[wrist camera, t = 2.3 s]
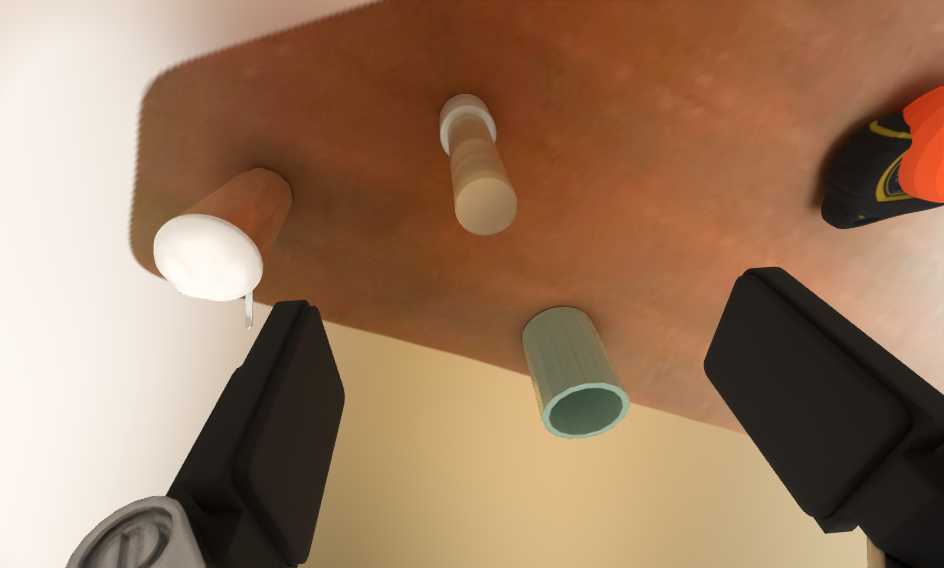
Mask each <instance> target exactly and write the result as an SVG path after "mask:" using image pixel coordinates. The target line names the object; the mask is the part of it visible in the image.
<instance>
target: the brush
mask: <svg viewBox="0 0 944 568" xmlns="http://www.w3.org/2000/svg"><path fill="white" fill-rule="evenodd" d="M439 127H440V140H441V144H442V146H443V148H444V150H445V152H446V153H447V154H448V155H449V156H450V165H451V175H452V184H453V194H454V203H455V212H456V216H457V219H458V221H459V222H460V224H461V225H462V226H463V227H464V228H465V229H466V230H468V231H469V232H472V233H474V234H477V235H492V234H496V233H498V232H500V231H502V230H504V229H505V228H506V227H507V226H508V225H509V224H510V223H511V222H512V220H513V219H514V217H515V215H516V212H517V198H516V195H515V192H514V190H513V188H512V185H511V183H510V180H509V178H508V175H507V173H506V170H505V168H504V166H503V163H502V161H501V158H500V156H499V153H498V151H497V149H496V146H495V140H496V127H495V123H494V121H493V119H492V117H491V114H490V112H489V110H488V108H487V106H486V105H485V103H484V102H483V101H482V100H481V99H479V98H478V97H476V96H474V95H471V94H459V95H456V96H454V97H452V98H450V99H449V100H448V101H447V102H446V103H445V104H444V106H443V108H442V110H441V112H440V117H439Z"/></svg>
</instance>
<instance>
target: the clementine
mask: <svg viewBox="0 0 944 568" xmlns="http://www.w3.org/2000/svg"><path fill="white" fill-rule="evenodd" d="M903 111H904V113H903V116H904V120H905V122H906V124H908V125H909V126H910V127H911V129H910V132H911V134H912V141H913V142H912V145H911V147H910V149H909V150H908V151H907V152H906V154H905V155H904V156H903V158H902V161H901V165H900V168H899V181H898V182H899V184H900V186H901V188H902V190H903V191H904V192H905V193H907V194H908V195H910V196H912V197H916V198H919V199H923V200H927V201H932V202H938V203H944V85H942V86H940V87H938V88H936V89H934V90H932V91H930V92H928V93H927V94H925V95H923V96H921V97H919V98H917V99H916V100H915V101H913V102H912V103H911V104H909V105H908V106H907V107H905V108H904V109H903V110H902V111H901V112H903Z"/></svg>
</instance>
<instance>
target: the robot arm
mask: <svg viewBox="0 0 944 568" xmlns="http://www.w3.org/2000/svg"><path fill="white" fill-rule="evenodd" d="M704 370H705V373H706V375H707V377H708V378H709V380H710V381H711V383H712V384H713V385H714V387H715V388H716V390H717V391H718V392H719V394H720V395H721V397H722V398H723V400H724V401H725V402H726V404H727V405H728V407H729V408H730V409H731V411H732V412H733V414H734V415H735V416H736V418H737V419H738V421H739V422H740V423H741V425H742V426H743V428H744V429H745V430H746V432H747V433H748V435H749V436H750V437H751V439H752V440H753V442H754V443H755V444H756V446H757V447H758V448H759V450H760V451H761V453H762V454H763V456H764V457H765V459H766V460H767V461H768V462H769V464H770V465H771V467H772V468H773V470H774V471H775V473H776V474H777V475H778V477H779V478H780V480H781V481H782V482H783V484H784V485H785V486H786V488H787V489H788V491H789V492H790V493H791V495H792V496H793V498H794V499H795V501H796V502H797V504H798V505H799V506H800V507H801V509H802V510H803V511H804V512H805V513H806V514H808V515H809V516H812V517H814V519H815V520H816V522H817V523H818V524H819V526H820V527H821V529H822V530H823V531H824V533H825V534H826V533H837V532H848V531H853V530H854V529H855V528H856V527H857V526H858V525H859V527H860V528H861V529H862V530H863V531H864V533H865V534H866V535H867V560H868V568H944V395H943V394H942V393H940V392H939V391H938V390H937V389H935V388H934V387H933V386H931V385H930V384H929V383H928V382H926V381H925V380H924V379H923V378H921V377H920V376H919V375H917V374H916V373H915V372H914V371H912V370H911V369H910V368H908V367H907V366H906V365H905V364H903V363H902V362H901V361H900V360H898V359H897V358H896V357H894V356H893V355H892V354H891V353H889V352H888V351H887V350H886V349H884V348H883V347H882V346H880V345H879V344H878V343H877V342H875V341H874V340H873V339H872V338H870V337H869V336H868V335H866V334H865V333H864V332H863V331H861V330H860V329H859V328H857V327H856V326H855V325H854V324H852V323H851V322H850V321H849V320H847V319H846V318H845V317H843V316H842V315H841V314H840V313H838V312H837V311H836V310H835V309H833V308H832V307H831V306H829V305H828V304H827V303H826V302H824V301H823V300H822V299H820V298H819V297H818V296H817V295H815V294H814V293H813V292H812V291H810V290H809V289H808V288H806V287H805V286H804V285H803V284H801V283H800V282H799V281H798V280H796V279H795V278H794V277H792V276H791V275H790V274H789V273H787V272H786V271H785V270H783V269H782V268H780V267H763V268H751V269H748V270H746V271H745V272H744V273H743V275H742V276H740V277H738V278H737V280H736V282H735V284H734V287H733V289H732V292H731V294H730V297H729V299H728V302H727V304H726V307H725V309H724V312H723V314H722V317H721V319H720V322H719V325H718V327H717V330H716V332H715V335H714V337H713V340H712V342H711V345H710V347H709V350H708V352H707V355H706V357H705V360H704ZM344 401H345V394H344V388H343V385H342V381H341V379H340V375H339V372H338V370H337V366H336V363H335V360H334V357H333V354H332V351H331V347H330V345H329V341H328V339H327V335H326V332H325V329H324V326H323V323H322V319H321V316H320V313H319V310H318V308H317V307H316V306H310V305H309V303H308V302H307V301H306V300H295V301H281V302H277V303H276V304H275V305H274V307H273V309H272V311H271V313H270V314H269V316H268V318H267V320H266V322H265V324H264V326H263V328H262V329H261V331H260V333H259V335H258V337H257V339H256V340H255V342H254V344H253V346H252V348H251V350H250V352H249V353H248V355H247V357H246V359H245V361H244V363H243V365H242V366H240V367H239V368H237V369H236V371H235V372H234V373H233V374H232V376H231V378H230V380H229V382H228V383H227V385H226V387H225V389H224V391H223V392H222V394H221V396H220V398H219V400H218V401H217V403H216V405H215V407H214V409H213V411H212V413H211V414H210V416H209V418H208V420H207V421H206V423H205V425H204V427H203V429H202V431H201V432H200V434H199V436H198V438H197V440H196V442H195V443H194V445H193V447H192V449H191V451H190V453H189V454H188V456H187V458H186V460H185V461H184V463H183V465H182V467H181V469H180V471H179V472H178V474H177V476H176V478H175V480H174V482H173V483H172V485H171V487H170V489H169V491H168V492H167V494H166V496H152V497H148V498H144V499H141V500H137V501H134V502H132V503H130V504H128V505H127V506H124V507H122V508H120V509H119V510H117V511H115V512H114V513H113V514H111V515H110V516H108V517H107V518H106V519H104V520H103V521H102V522H100V523H99V524H98V525H97V526H96V527H95V528H94V529H93V530H92V531H91V532H90V533H89V534H88V535H87V536H86V537H85V538H84V539H83V540H82V541H81V543H80V544H79V546H78V547H77V548H76V550H75V551H74V552H73V554H72V555H71V557H70V559H69V561H68V564H67V566H66V568H297V567H298V564H303V563H305V562H306V560H307V558H308V556H309V552H310V548H311V544H312V540H313V535H314V531H315V527H316V522H317V518H318V514H319V510H320V505H321V501H322V497H323V493H324V488H325V484H326V480H327V476H328V471H329V467H330V463H331V458H332V454H333V450H334V445H335V441H336V437H337V433H338V428H339V424H340V420H341V416H342V411H343V407H344Z"/></svg>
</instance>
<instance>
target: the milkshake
mask: <svg viewBox="0 0 944 568" xmlns="http://www.w3.org/2000/svg"><path fill="white" fill-rule="evenodd" d="M292 203H293V197H292V192H291V187H290V185H289V184H288V183H287V182H286V181H285V180H284V179H283V178H282V177H281V176H280V175H279V174H278V173H277V172H275V171H271V170H268V169H265V168H262V167H258V168H254V169H251V170H248V171H244V172H242V173H241V174H239V175H238V176H236V177H235V178H234V179H232V180H231V181H229V182H228V183H226V184H225V185H223V186H222V187H221V188H219V189H218V190H216V191H215V192H213V193H212V194H210V195H209V196H208V197H206V198H205V199H203V200H202V201H200V202H199V203H197V204H196V205H194V206H192V207H191V208H189V209H188V210H186V211H184V212H183V213H181V214H179V215H178V216H176V217H175V218H173V219H171V220H170V221H168V222H167V223H166V224H164V225H163V226H162V227H161V229H160V230H159V231H158V233H157V235H156V237H155V240H154V259H155V263H156V266H157V268H158V269H159V271H160V272H161V274H162V275H163V276H164V277H165V278H166V279H167V280H168V281H169V282H170V283H171V284H172V285H173V286H174V287H175V288H176V289H177V290H178V291H179V292H180V293H182V294H184V295H187V296H191V297H196V298H203V299H208V300H212V301H230V300H234V299H237V298H240V297H242V296H244V295H246V320H245V321H246V322H245V328H246V330H247V329H249V328H250V327H252V324H253V289H254V288H255V287H256V286H257V284H258V283H259V281H260V279H261V277H262V274H263V271H264V269H265V266H266V264H267V261H268V259H269V256H270V253H271V251H272V248H273V245H274V243H275V240H276V238H277V236H278V234H279V231H280V229H281V227H282V225H283V223H284V221H285V218H286V216H287V214H288V212H289V210H290V207H291V205H292Z"/></svg>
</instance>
